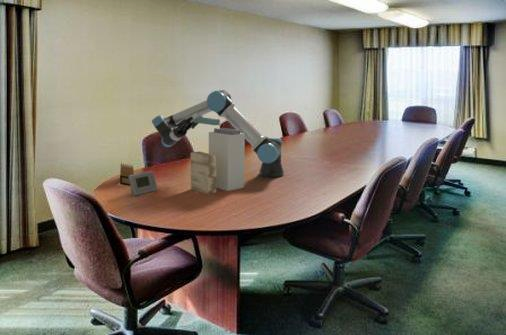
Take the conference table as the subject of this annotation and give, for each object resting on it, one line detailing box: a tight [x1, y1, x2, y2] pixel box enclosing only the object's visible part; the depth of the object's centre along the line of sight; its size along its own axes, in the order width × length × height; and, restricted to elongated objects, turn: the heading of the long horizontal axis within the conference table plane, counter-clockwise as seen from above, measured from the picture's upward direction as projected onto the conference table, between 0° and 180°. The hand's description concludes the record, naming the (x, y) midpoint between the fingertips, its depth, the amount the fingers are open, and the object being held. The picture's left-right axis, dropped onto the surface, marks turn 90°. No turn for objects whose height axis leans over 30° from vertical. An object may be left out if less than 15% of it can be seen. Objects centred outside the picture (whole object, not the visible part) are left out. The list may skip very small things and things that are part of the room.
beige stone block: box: [190, 151, 217, 195], centre depth 242 cm, size 6×14×20 cm, turn 44°
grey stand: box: [208, 127, 246, 192], centre depth 250 cm, size 12×16×32 cm
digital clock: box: [128, 170, 158, 197], centre depth 237 cm, size 16×9×11 cm, turn 132°
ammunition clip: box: [119, 162, 135, 187], centre depth 252 cm, size 11×2×12 cm, turn 56°
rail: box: [189, 116, 221, 126], centre depth 251 cm, size 3×24×3 cm, turn 44°
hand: (198, 115), depth 254 cm, fingers closed on rail, 3 cm apart
